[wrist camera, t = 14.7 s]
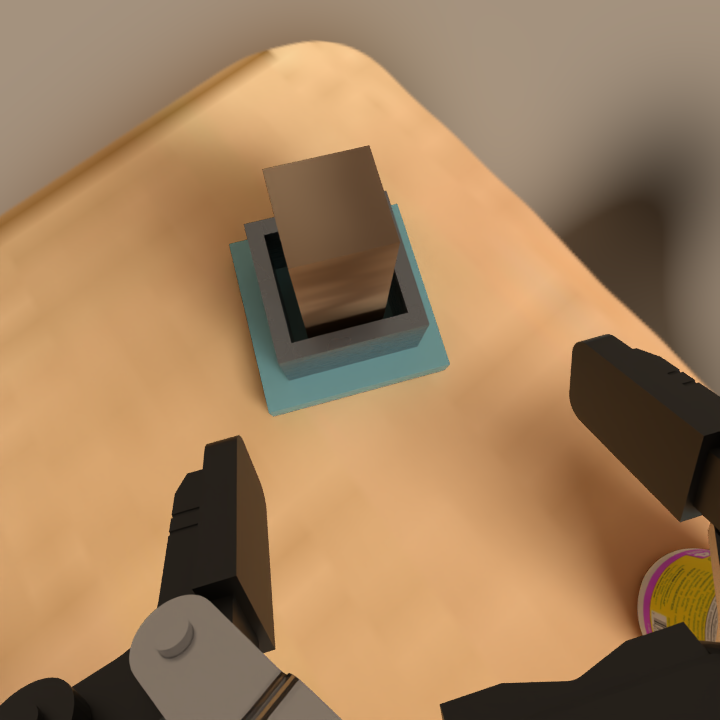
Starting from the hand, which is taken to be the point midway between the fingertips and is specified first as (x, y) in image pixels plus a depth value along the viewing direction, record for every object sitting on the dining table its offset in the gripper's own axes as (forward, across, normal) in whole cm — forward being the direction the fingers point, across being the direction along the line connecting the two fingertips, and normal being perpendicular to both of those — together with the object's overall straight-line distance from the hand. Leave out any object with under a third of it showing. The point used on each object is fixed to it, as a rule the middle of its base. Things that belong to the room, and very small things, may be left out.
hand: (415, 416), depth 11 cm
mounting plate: (+17, 0, +5) cm, 18 cm away
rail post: (+16, 0, +4) cm, 16 cm away
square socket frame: (+16, 0, +4) cm, 16 cm away
